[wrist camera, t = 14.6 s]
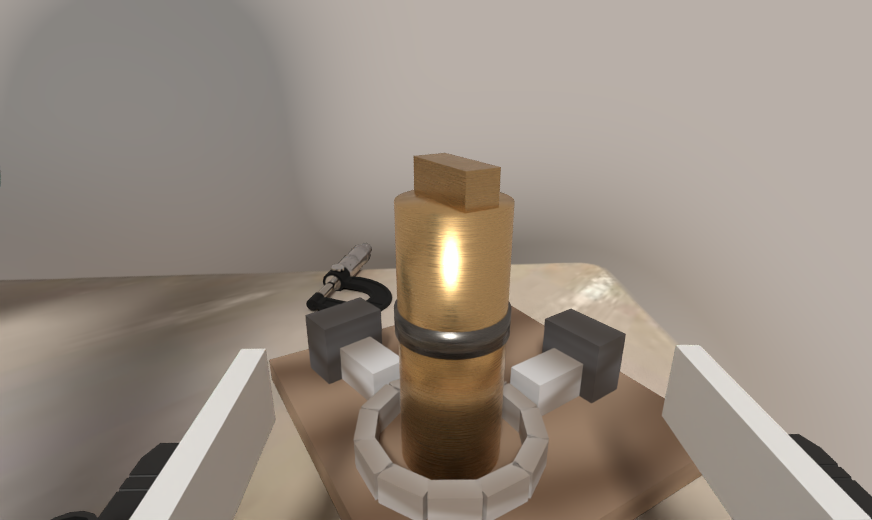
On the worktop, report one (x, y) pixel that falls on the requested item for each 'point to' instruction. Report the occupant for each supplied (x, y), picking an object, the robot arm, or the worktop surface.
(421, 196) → the coupling
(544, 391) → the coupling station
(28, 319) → the worktop surface
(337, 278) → the micrometer
